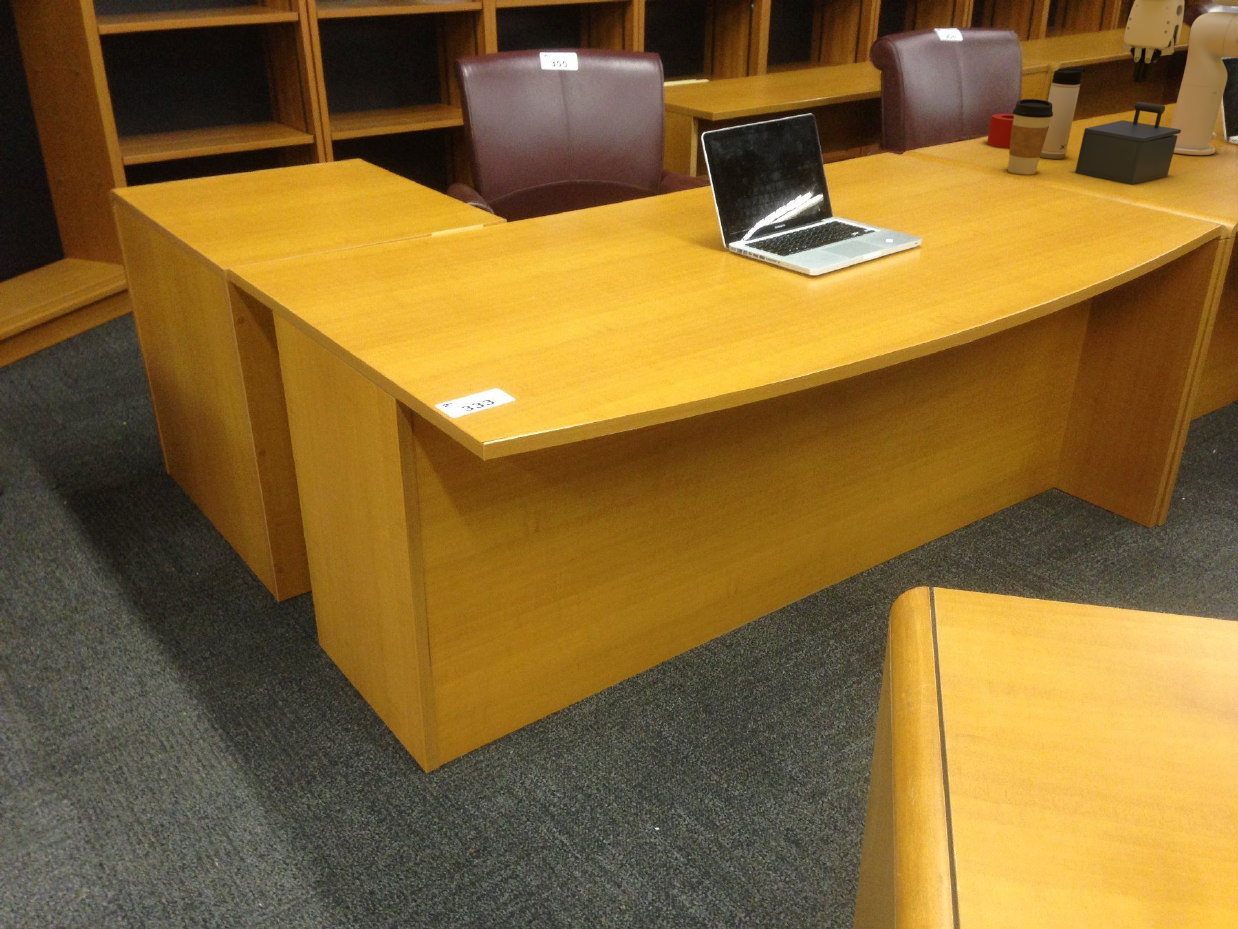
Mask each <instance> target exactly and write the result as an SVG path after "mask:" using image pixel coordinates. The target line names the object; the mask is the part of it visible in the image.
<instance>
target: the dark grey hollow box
mask: <svg viewBox="0 0 1238 929" xmlns="http://www.w3.org/2000/svg"><path fill="white" fill-rule="evenodd" d="M1177 137H1178V136H1176V135H1171V136H1167V137H1162V138H1158V139H1154V140H1150V141H1145V142H1139V141H1133V140H1127V139H1121V138H1116V137H1110V136H1104V135H1099V134H1093V133H1087V132H1084V131H1083V135H1082V139H1081V144H1080V148H1079V153H1078V158H1077V162H1076V166H1075V173H1076V174H1080V175H1084V176H1089V177H1094V178H1099V179H1103V180H1109V181H1114V182H1119V183H1123V184H1127V185H1128V184H1129V185H1136V184H1140V183H1145V182H1148V181H1149V182H1150V181H1154V180H1157V179H1162V178H1166V177H1168V176H1169V171H1170V168H1171V164H1172V160H1173V157H1174V156H1173V155H1174V153H1173V152H1174V148H1175V145H1176V141H1177Z"/></svg>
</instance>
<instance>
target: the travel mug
mask: <svg viewBox="0 0 1238 929" xmlns="http://www.w3.org/2000/svg"><path fill="white" fill-rule="evenodd" d="M1085 72H1086V70H1085V68H1084V67H1079V68H1063V69H1057V70H1054V72H1053V73H1052V74H1053V75H1052V79H1051V83H1050V84H1051V85H1050V87H1049V88H1050V89H1049V93H1048V98H1047V101H1048V102H1050V103H1052V112H1053V116H1052V117H1051V118H1050V121H1049V125H1048V126H1049V128H1048V132H1047V135H1046V138H1045V142H1044V145H1043V148H1042V152H1041V155H1040V158H1042V159H1046V160H1047V159H1048V160H1063V159H1065V158H1066V155H1067V150H1068V145H1069V141H1070V136H1071V131H1072V126H1073V123H1074V122H1073V121H1074V116H1075V112H1076V107H1077V102H1078V98H1079V93H1080V87H1081V81H1082V78H1083V73H1085Z"/></svg>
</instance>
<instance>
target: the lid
mask: <svg viewBox="0 0 1238 929" xmlns="http://www.w3.org/2000/svg"><path fill="white" fill-rule="evenodd" d="M1134 111H1135V112H1134V117H1133V121H1130V120H1124V119H1121V120H1118V121H1112V122H1108V123H1103V124H1098V125H1093V126H1089V127H1085V128H1084V130H1083V133H1084V132H1087V133H1093V134H1099V135H1104V136H1110V137H1116V138H1121V139H1127V140H1133V141H1139V142H1145V141H1150V140H1154V139H1158V138H1162V137H1167V136H1171V135H1175V134H1179V133H1180V132H1181V129H1174V128H1170V127H1168V126H1162V125H1160V124H1161V120H1162V115H1163V114H1164V112H1165V111H1166V106H1165V104H1157V103H1152V102H1151V103H1150V102H1144V101H1136V103H1135V104H1134ZM1141 112H1145V113H1152V114H1156V119H1155V123H1154V124H1149V123H1143V122H1139V117H1140V114H1141Z"/></svg>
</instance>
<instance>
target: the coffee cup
mask: <svg viewBox="0 0 1238 929" xmlns="http://www.w3.org/2000/svg"><path fill="white" fill-rule="evenodd" d="M1012 114H1014V119H1013V123H1012V130H1011V141H1010V148H1009V152H1008V154H1009V155H1008V165H1007V172H1009V173H1011V174H1016V175H1026V176H1029V175H1030V176H1031V175H1035V174H1036V173H1037V169H1038V165H1039V161H1040V158H1041V157H1040V155H1041V152H1042V148H1043V145H1044V142H1045V138H1046V135H1047V132H1048V128H1049V126H1048V125H1049V121H1050V118H1051V117H1052V116H1053V112H1052V103H1050V102H1048V100H1045V99H1038V98H1023V99H1020V100H1017V101H1016V104H1015V107H1014V108H1013V110H1012Z"/></svg>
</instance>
